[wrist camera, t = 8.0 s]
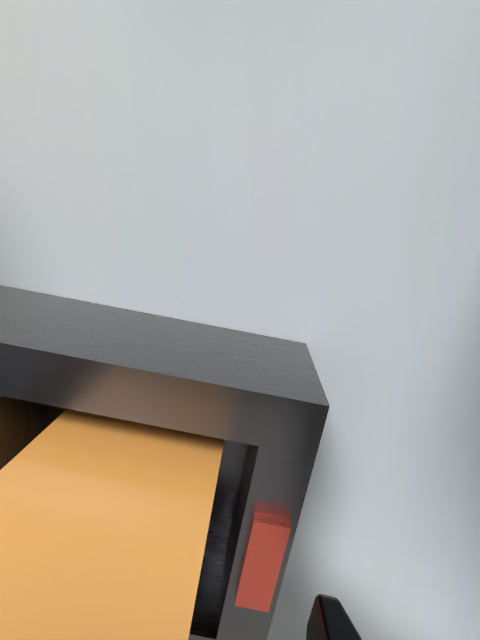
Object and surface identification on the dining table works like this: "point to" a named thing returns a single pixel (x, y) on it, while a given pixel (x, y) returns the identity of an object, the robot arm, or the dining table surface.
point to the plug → (104, 530)
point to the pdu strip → (180, 425)
